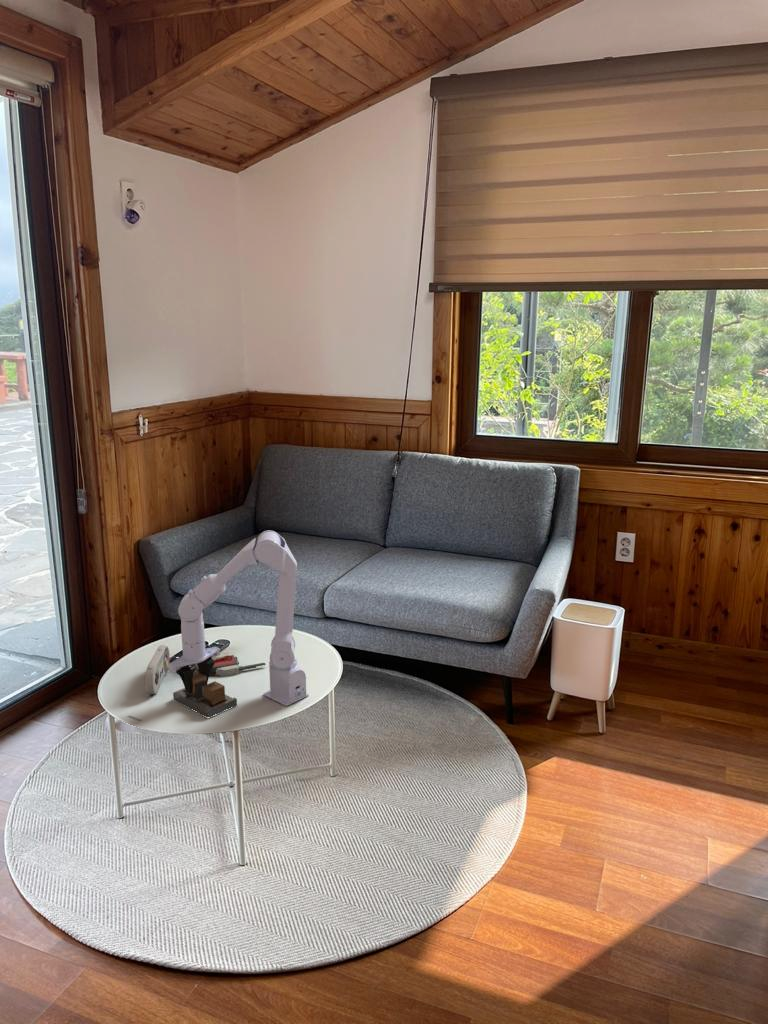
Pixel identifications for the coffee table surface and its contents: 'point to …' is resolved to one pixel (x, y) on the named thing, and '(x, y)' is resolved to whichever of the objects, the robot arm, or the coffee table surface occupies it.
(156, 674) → the game controller
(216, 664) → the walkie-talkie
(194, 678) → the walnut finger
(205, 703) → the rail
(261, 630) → the coffee table surface
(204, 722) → the coffee table surface
